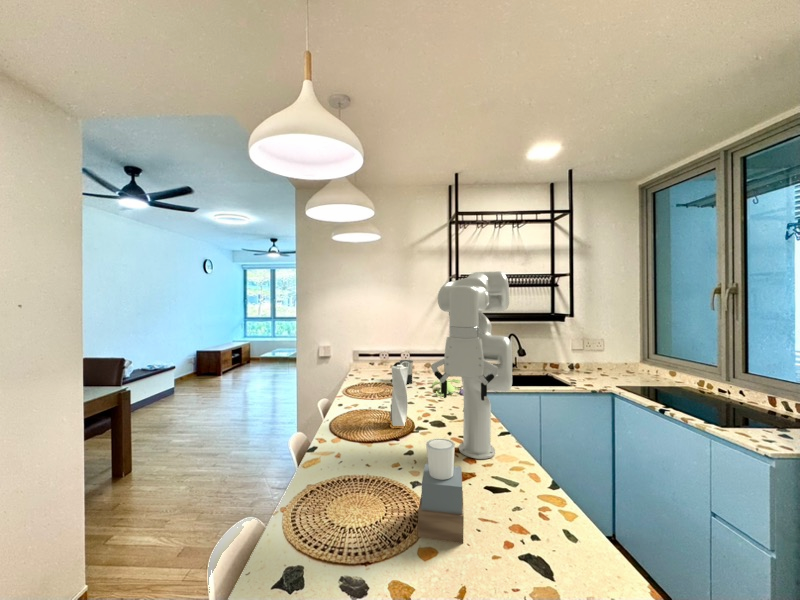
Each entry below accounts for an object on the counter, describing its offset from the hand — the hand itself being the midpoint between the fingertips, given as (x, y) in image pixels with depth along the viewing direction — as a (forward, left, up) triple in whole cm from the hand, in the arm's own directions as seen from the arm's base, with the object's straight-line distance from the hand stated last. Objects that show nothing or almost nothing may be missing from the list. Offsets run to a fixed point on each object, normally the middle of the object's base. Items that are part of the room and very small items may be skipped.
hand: (463, 397), depth 85 cm
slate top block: (+9, -5, -22) cm, 24 cm away
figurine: (-115, -10, -28) cm, 119 cm away
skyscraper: (-50, -27, -28) cm, 64 cm away
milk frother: (-125, -40, -28) cm, 134 cm away
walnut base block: (+9, -5, -28) cm, 30 cm away
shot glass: (+9, -5, -16) cm, 19 cm away
